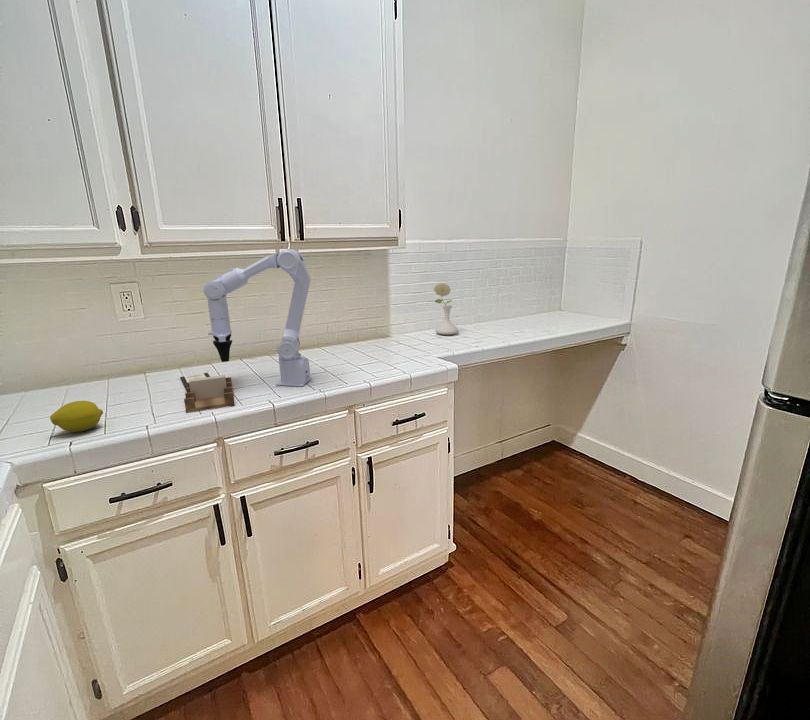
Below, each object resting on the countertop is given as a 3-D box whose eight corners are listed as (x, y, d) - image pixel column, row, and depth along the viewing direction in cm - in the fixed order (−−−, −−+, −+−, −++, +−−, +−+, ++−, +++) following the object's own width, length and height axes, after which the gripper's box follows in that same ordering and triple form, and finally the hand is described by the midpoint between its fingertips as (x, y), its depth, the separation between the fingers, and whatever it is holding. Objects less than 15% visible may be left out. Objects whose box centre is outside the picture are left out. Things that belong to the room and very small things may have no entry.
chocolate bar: (187, 391, 140) (180, 377, 154) (187, 394, 140) (180, 379, 155) (217, 386, 144) (207, 372, 159) (217, 388, 145) (207, 374, 159)
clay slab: (227, 393, 137) (224, 375, 135) (227, 395, 134) (225, 377, 133) (192, 398, 133) (189, 379, 131) (191, 400, 131) (188, 381, 129)
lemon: (108, 421, 120) (102, 393, 118) (103, 432, 113) (97, 403, 111) (59, 429, 115) (52, 400, 113) (51, 441, 109) (44, 411, 106)
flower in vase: (462, 332, 218) (463, 282, 211) (452, 337, 208) (453, 284, 201) (438, 330, 224) (439, 281, 217) (428, 334, 215) (428, 283, 208)
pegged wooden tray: (232, 388, 144) (231, 377, 142) (234, 405, 129) (232, 392, 128) (189, 394, 139) (187, 382, 138) (186, 412, 125) (183, 399, 123)
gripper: (206, 315, 145) (212, 354, 149) (205, 323, 132) (211, 365, 136) (229, 313, 148) (234, 352, 152) (230, 321, 135) (235, 363, 139)
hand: (225, 358), depth 144 cm, fingers open, 7 cm apart
